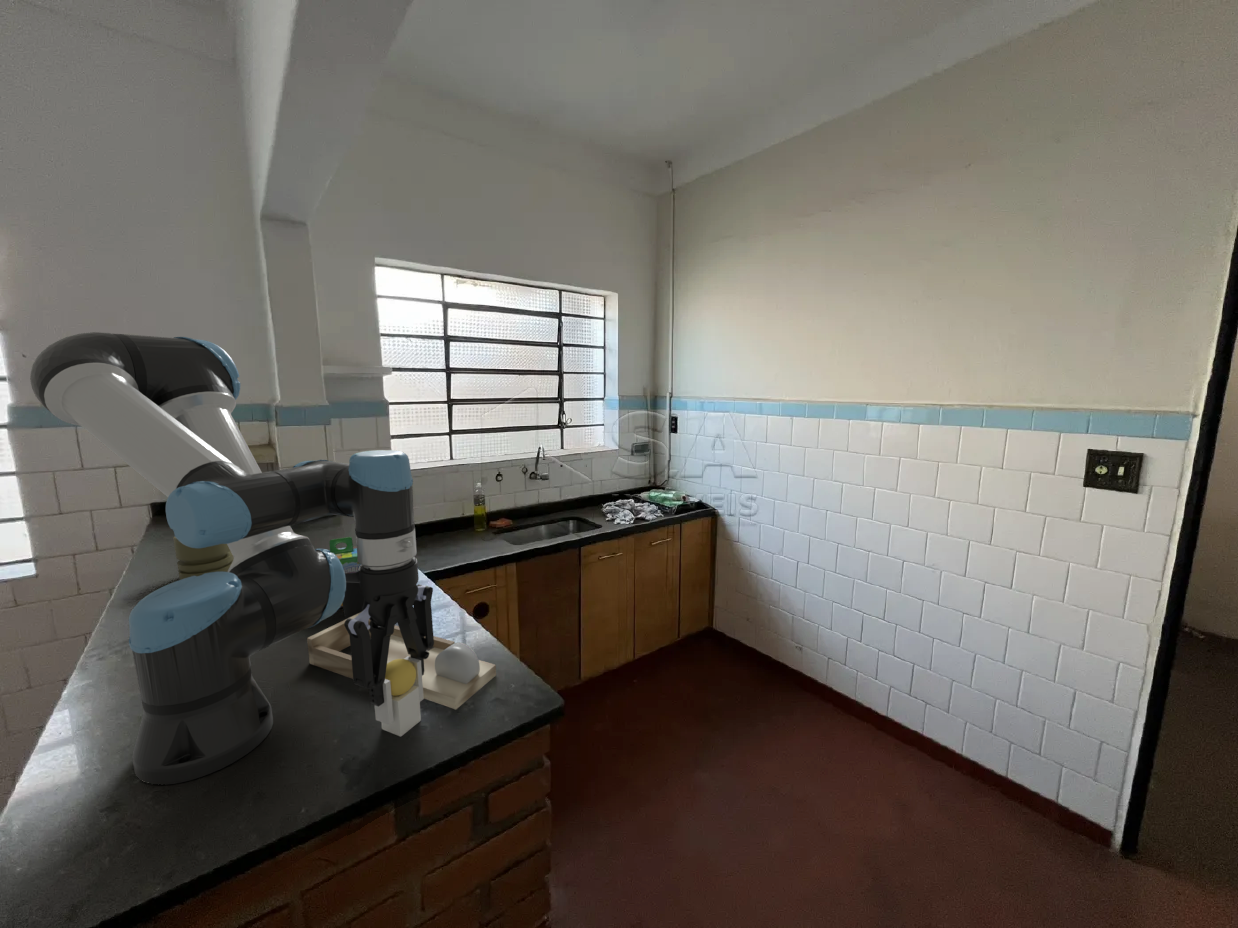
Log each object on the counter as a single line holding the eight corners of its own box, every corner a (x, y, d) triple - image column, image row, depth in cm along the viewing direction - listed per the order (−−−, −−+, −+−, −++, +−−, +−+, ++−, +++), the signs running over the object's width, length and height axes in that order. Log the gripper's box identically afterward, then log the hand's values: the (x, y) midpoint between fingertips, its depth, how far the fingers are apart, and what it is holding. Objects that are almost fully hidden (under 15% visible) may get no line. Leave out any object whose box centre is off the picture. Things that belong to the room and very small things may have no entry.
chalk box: (324, 612, 109) (317, 548, 107) (323, 597, 117) (317, 537, 115) (370, 602, 114) (364, 541, 112) (366, 588, 122) (361, 531, 119)
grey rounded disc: (468, 695, 81) (466, 656, 79) (435, 685, 83) (433, 646, 82) (480, 685, 83) (478, 647, 82) (448, 675, 86) (446, 638, 85)
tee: (400, 736, 71) (397, 701, 70) (381, 729, 73) (378, 694, 72) (420, 720, 75) (418, 686, 74) (402, 713, 76) (399, 680, 75)
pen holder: (384, 625, 103) (380, 581, 102) (336, 629, 102) (331, 583, 100) (396, 605, 113) (393, 564, 111) (352, 608, 111) (348, 566, 109)
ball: (397, 706, 70) (395, 674, 69) (372, 697, 72) (369, 666, 71) (424, 687, 74) (422, 656, 73) (400, 678, 76) (397, 649, 75)
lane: (451, 713, 76) (449, 684, 76) (309, 663, 90) (306, 638, 89) (499, 672, 87) (498, 646, 86) (366, 633, 100) (364, 610, 100)
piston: (163, 540, 121) (186, 527, 131) (170, 587, 123) (193, 570, 133) (218, 536, 124) (237, 524, 135) (224, 581, 126) (242, 565, 137)
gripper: (349, 589, 60) (365, 758, 64) (454, 544, 76) (462, 681, 80) (308, 579, 63) (326, 741, 67) (417, 538, 79) (427, 670, 83)
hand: (400, 708), depth 73 cm, fingers closed on ball, 5 cm apart
